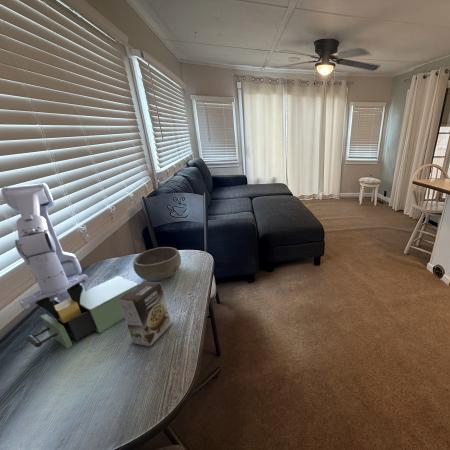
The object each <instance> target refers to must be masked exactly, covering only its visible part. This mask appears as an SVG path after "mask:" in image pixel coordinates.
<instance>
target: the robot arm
mask: <svg viewBox="0 0 450 450" xmlns="http://www.w3.org/2000/svg"><path fill="white" fill-rule="evenodd" d="M1 195H2V198H3V200H4V202H5V203H6V205H7V206H8V207H10V208H11V209H12V210H14V211H15V212H19V215H20V217H19V218H17V220H16V228H17V229H16V230H17V237H18V239H15V240H14V246H15V249H16V251H17V253H18V255H19V256H20V257H21V258H22V259H23V261H24V263H25V264H26V265H27V266H28V267H29V269H30V271H31V273H32V275H33V277H34V279H35V281H36V283H37V285H38V287H39V289H40V290H38V291H36V292H34V293H33V294H30V295H29V296H26V297H24V298H23V299H20V300H18V303H19V305H20V307H21V308H23V309H24V310H26V309H28V308H30V307H31V306H33V305H37V306H39V307H41V308H43V309H44V310H46V311H47V312H48V313H50V315H51V316H52V318H53V319H54V320H55V321H57V320H58V319H60V317H59V315H58V313H57V311H56V309H55V307H54V306H55V303H54V301H55V302H57V303H58V304H59V303H61V302H63V301H65V300H67V299H70V298H71V299H72V300H74V301H75V302H77V304H78V306H79V308H81V307H80V297H81V293H83V292H85V291H86V290H85V287H84V284H83V283H87V282H89V281H90V279H89V276H88V275H87V274H85V273H83V274H82V266H81V264H80V261H79V259H78V258H77V256H76V254H74V253H72V252H68V251H64V249H63V246H62V244H61V242H60V240H59V238H58V235H57V233H56V230H55V228H54V225H53V222H52V221H51V220H52V219H51V218H50V215H49V209H50V208H53V207H54V206H55V204H54V203H55V202H54V199H53V195H52V193H51V191H50V188H49V186H48V184H47V183H45V182H41V183H34V184H24V185H16V186H15V185H14V186H2V188H1ZM55 295H56V297H54V299H53V300H54V301H53V300H51V299H50V298H51V297H53V296H55Z"/></svg>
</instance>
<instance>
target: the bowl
mask: <svg viewBox="0 0 450 450" xmlns="http://www.w3.org/2000/svg"><path fill="white" fill-rule="evenodd" d="M181 265H182V257H181V254H180V252H179V250H178V249H177V248H175V247H172V246H170V247H169V246H161V247H160V246H159V247H156V248H151V249H148V250H145V251H143V252H140V253H139V254H138V255H136V256H135V257H134V258H133V262H132V267H133V270H134V273H135V274H136V275H137V276H138V277H139V278H141V279H142V280H144V281H146V282H158V281H162V280H166V279H168V278H170V277H172V276H173V275H175V274H176V273H177V272H178V271H179V269H180V267H181Z"/></svg>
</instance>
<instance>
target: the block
mask: <svg viewBox="0 0 450 450" xmlns="http://www.w3.org/2000/svg"><path fill="white" fill-rule="evenodd" d="M54 307H55V309H56V311H57V313H58V315H59V317H60V319H58V320H59V321H61V322H62V323H66V322H67V321H69V320H71V319H73V318H75V317H77V316H79V315H81V314H82V313H81V311H80V308H79V306H78V304H77V302H75V301H74V300H72V299H67V300H65V301H63V302H61V303H59V302H58V303H57V304H54Z"/></svg>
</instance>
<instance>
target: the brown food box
mask: <svg viewBox="0 0 450 450" xmlns="http://www.w3.org/2000/svg"><path fill="white" fill-rule="evenodd" d="M161 283H162V282H157V281H146V280H144V281H142V282H140V283H138V284H139V285H138V286H136V287H135V288H133V289H132V290H131V291H129V292H128V293H126V294H125V295H124V296H122V297H121V298H119V302H120V305H121V308H122V311H123V314H124V317H125V318H124V321H125V322H126V325H127V328H128V333H129V334H130V338H131V341H132V343H133V344H137V345H140V346H147V347H151V346H152V345H153V344H154V343H155V342H156V341H157V340H158V339H159V338H160V337H161V336H162V335H163V334H164V333H165V332H166V331H167V330H168V329H169V328H170V327H171V325H172V322H171V318H170V313H169V310H168V307H167V301H166V299H165V295H164V291H163V288H162V287H163V286H162V284H161Z"/></svg>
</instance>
